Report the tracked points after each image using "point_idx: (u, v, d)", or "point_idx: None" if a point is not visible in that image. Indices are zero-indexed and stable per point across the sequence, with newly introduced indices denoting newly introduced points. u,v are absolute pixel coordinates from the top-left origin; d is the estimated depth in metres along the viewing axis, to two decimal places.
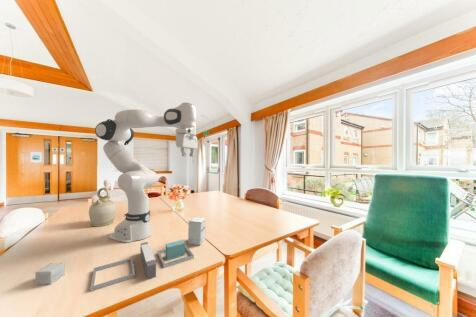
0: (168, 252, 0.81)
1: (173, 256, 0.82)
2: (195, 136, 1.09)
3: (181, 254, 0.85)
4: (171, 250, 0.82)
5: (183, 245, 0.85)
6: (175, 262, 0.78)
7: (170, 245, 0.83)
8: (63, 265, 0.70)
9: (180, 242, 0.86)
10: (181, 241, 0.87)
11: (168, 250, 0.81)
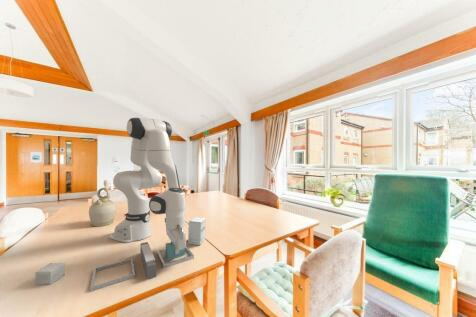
0: (168, 252, 0.81)
1: (173, 256, 0.82)
2: (180, 231, 0.77)
3: (181, 254, 0.85)
4: (171, 250, 0.82)
5: None
6: (175, 262, 0.78)
7: (170, 245, 0.83)
8: (63, 265, 0.70)
9: None
10: None
11: (168, 250, 0.81)
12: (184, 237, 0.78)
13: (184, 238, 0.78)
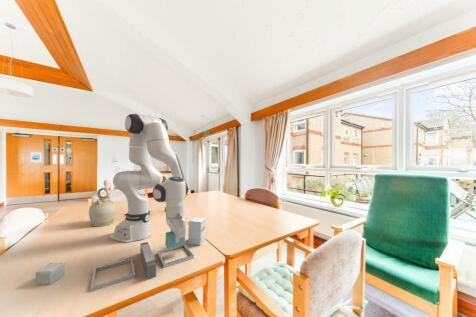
0: (168, 240, 0.82)
1: (173, 244, 0.83)
2: (180, 219, 0.77)
3: (181, 243, 0.85)
4: (171, 239, 0.82)
5: None
6: (175, 262, 0.78)
7: (170, 233, 0.83)
8: (63, 265, 0.70)
9: None
10: None
11: (168, 238, 0.82)
12: (184, 225, 0.78)
13: (184, 226, 0.78)
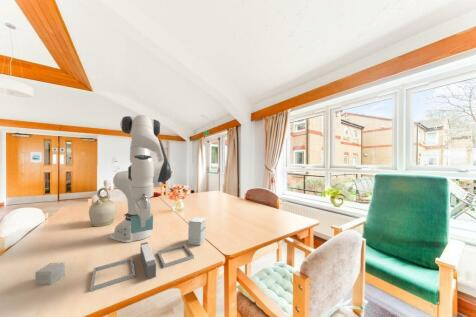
0: (132, 224, 0.73)
1: (138, 229, 0.74)
2: (144, 200, 0.69)
3: (148, 228, 0.76)
4: (136, 223, 0.74)
5: (151, 218, 0.77)
6: (175, 262, 0.78)
7: (135, 217, 0.75)
8: (63, 265, 0.70)
9: None
10: None
11: (132, 222, 0.73)
12: (149, 206, 0.70)
13: (148, 207, 0.69)
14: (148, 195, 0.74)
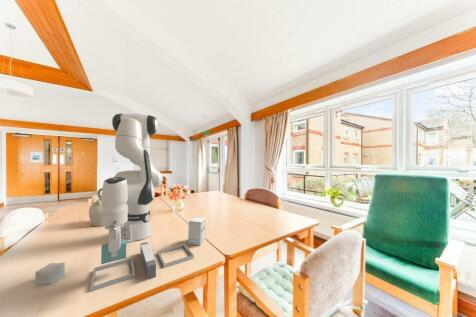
0: (102, 254, 0.67)
1: (109, 259, 0.68)
2: (113, 229, 0.63)
3: (121, 256, 0.71)
4: (106, 252, 0.68)
5: (124, 246, 0.71)
6: (175, 262, 0.78)
7: (106, 246, 0.69)
8: (63, 265, 0.70)
9: (121, 242, 0.72)
10: (123, 241, 0.73)
11: (102, 252, 0.67)
12: (118, 236, 0.64)
13: (118, 237, 0.64)
14: (120, 222, 0.69)
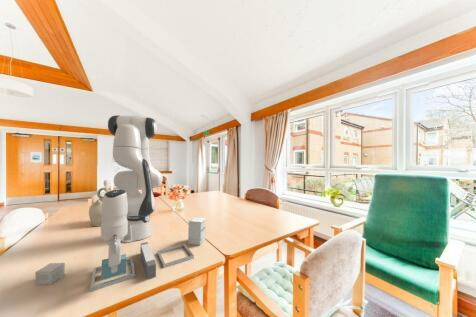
0: (102, 270, 0.68)
1: (109, 275, 0.69)
2: (113, 244, 0.63)
3: (121, 272, 0.71)
4: (107, 268, 0.68)
5: (124, 261, 0.72)
6: (175, 262, 0.78)
7: (106, 261, 0.69)
8: (63, 265, 0.70)
9: (121, 257, 0.72)
10: (123, 256, 0.73)
11: (102, 268, 0.68)
12: (118, 250, 0.64)
13: (118, 252, 0.64)
14: (120, 235, 0.69)
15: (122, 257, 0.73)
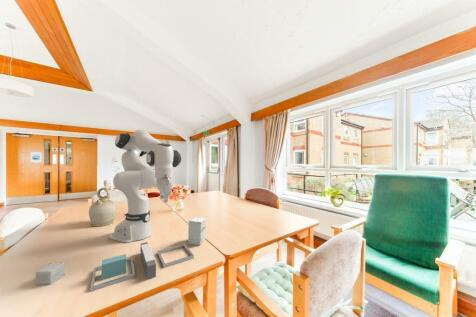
0: (102, 270, 0.68)
1: (109, 275, 0.69)
2: (166, 178, 0.85)
3: (121, 272, 0.71)
4: (107, 268, 0.68)
5: (124, 261, 0.72)
6: (175, 262, 0.78)
7: (106, 261, 0.69)
8: (63, 265, 0.70)
9: (121, 257, 0.72)
10: (123, 256, 0.73)
11: (102, 268, 0.68)
12: (170, 184, 0.86)
13: (170, 185, 0.86)
14: (169, 176, 0.91)
15: (122, 257, 0.72)
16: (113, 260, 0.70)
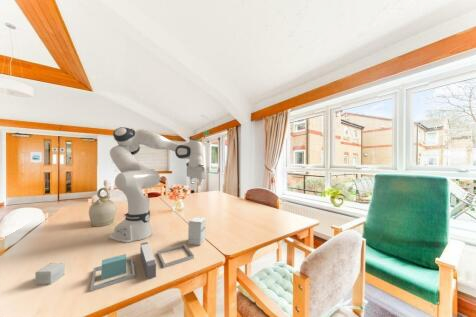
0: (102, 270, 0.68)
1: (109, 275, 0.69)
2: (202, 166, 1.12)
3: (121, 272, 0.71)
4: (107, 268, 0.68)
5: (124, 261, 0.72)
6: (175, 262, 0.78)
7: (106, 261, 0.69)
8: (63, 265, 0.70)
9: (121, 257, 0.72)
10: (123, 256, 0.73)
11: (102, 268, 0.68)
12: (205, 171, 1.12)
13: (205, 171, 1.12)
14: (201, 165, 1.17)
15: (122, 257, 0.73)
16: (113, 260, 0.70)
